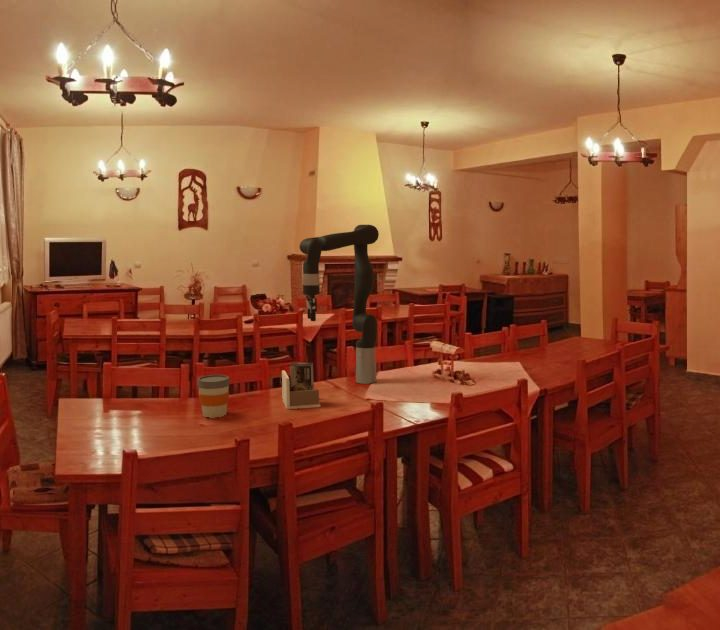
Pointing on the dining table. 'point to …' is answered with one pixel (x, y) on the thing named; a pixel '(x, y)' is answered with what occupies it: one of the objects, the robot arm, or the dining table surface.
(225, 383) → the reusable coffee cup
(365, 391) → the dining table surface
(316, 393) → the book rack
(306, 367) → the coffee box
